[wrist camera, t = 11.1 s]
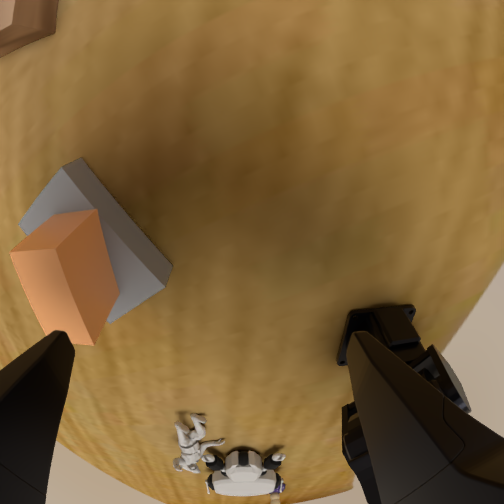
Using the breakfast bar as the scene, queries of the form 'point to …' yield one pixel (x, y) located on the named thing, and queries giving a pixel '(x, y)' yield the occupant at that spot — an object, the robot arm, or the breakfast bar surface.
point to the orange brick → (68, 275)
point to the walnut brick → (25, 22)
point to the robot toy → (243, 473)
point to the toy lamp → (276, 495)
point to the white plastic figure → (191, 444)
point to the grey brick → (105, 233)
